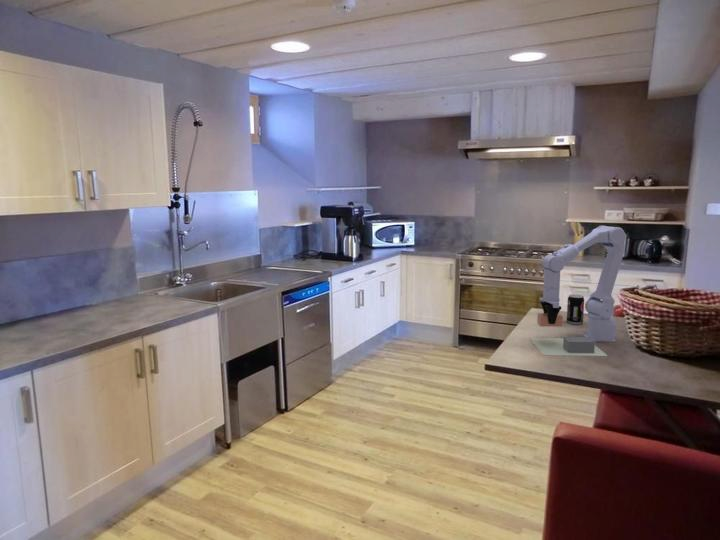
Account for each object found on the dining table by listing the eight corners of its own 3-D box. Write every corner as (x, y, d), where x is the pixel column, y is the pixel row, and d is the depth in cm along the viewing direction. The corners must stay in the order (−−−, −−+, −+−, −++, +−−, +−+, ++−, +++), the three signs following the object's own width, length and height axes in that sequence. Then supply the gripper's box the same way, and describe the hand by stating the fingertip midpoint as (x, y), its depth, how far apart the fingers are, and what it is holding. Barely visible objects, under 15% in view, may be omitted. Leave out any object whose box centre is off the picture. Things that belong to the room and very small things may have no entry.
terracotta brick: (558, 323, 195) (559, 313, 194) (562, 326, 190) (562, 316, 190) (537, 323, 195) (537, 313, 195) (540, 326, 191) (540, 316, 190)
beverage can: (578, 325, 217) (580, 298, 215) (563, 322, 222) (565, 295, 220) (585, 322, 221) (587, 295, 220) (571, 319, 226) (572, 293, 224)
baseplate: (587, 339, 198) (587, 338, 197) (607, 356, 178) (607, 355, 178) (529, 339, 200) (529, 338, 200) (543, 355, 180) (543, 354, 180)
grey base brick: (588, 347, 187) (588, 337, 186) (594, 352, 181) (594, 342, 180) (563, 347, 188) (563, 336, 187) (568, 352, 182) (568, 341, 181)
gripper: (535, 283, 198) (534, 317, 200) (545, 290, 184) (544, 327, 186) (554, 283, 197) (552, 317, 200) (565, 290, 183) (564, 327, 185)
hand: (549, 322), depth 193 cm, fingers closed on terracotta brick, 4 cm apart
